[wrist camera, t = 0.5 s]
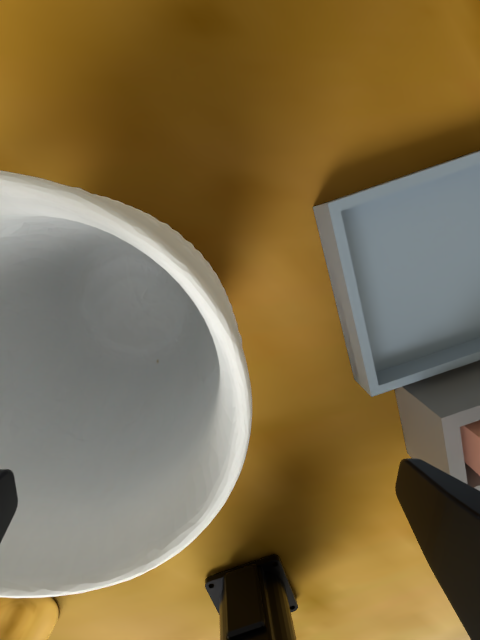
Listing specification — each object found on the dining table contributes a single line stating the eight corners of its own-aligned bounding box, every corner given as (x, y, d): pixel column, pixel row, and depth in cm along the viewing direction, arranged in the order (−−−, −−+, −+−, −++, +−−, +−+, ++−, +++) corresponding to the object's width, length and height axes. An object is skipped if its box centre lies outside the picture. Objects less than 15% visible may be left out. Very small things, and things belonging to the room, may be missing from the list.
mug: (-23, 361, 20) (-433, 588, 7) (-25, 175, 17) (-696, 13, 4) (211, 393, 22) (213, 613, 9) (243, 231, 19) (307, 231, 6)
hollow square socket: (489, 425, 25) (556, 471, 20) (407, 452, 25) (454, 506, 20) (481, 348, 23) (554, 379, 18) (392, 378, 23) (441, 418, 18)
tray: (515, 324, 22) (552, 335, 20) (354, 379, 22) (371, 396, 20) (503, 141, 19) (546, 128, 17) (312, 206, 19) (327, 203, 17)
